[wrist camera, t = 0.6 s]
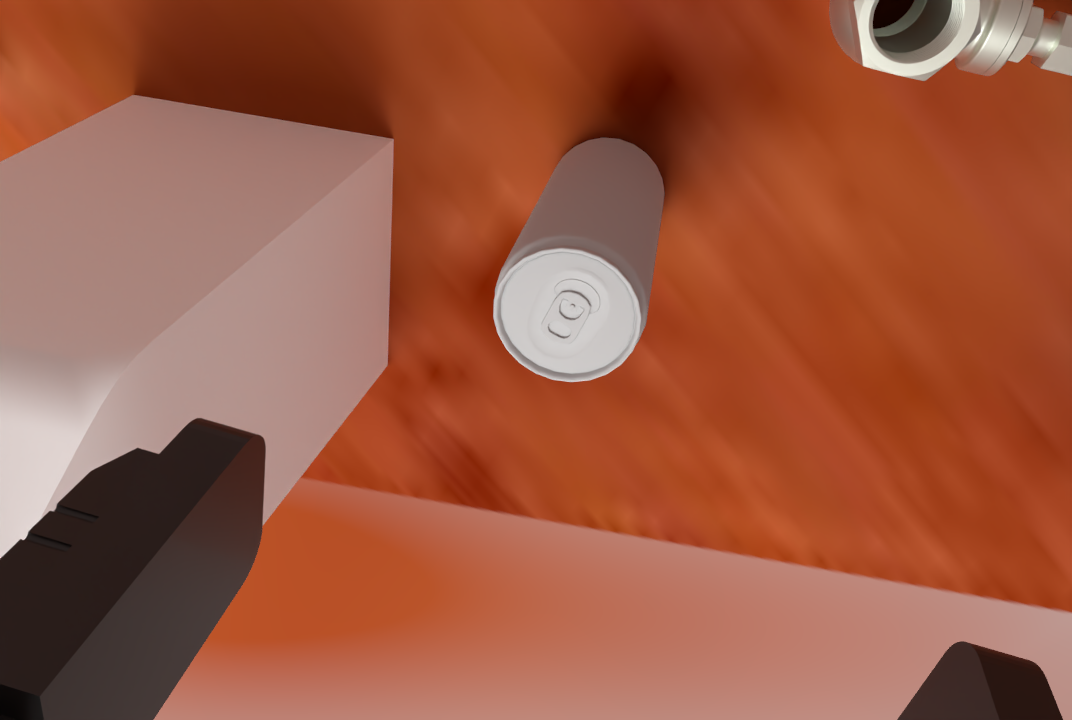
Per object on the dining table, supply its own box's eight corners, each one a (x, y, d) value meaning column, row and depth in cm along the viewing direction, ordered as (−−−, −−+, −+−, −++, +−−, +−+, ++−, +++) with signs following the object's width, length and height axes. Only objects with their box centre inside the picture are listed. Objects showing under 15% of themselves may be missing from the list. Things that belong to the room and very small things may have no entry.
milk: (393, 139, 36) (-102, 556, 14) (387, 365, 42) (30, 908, 20) (133, 94, 38) (-701, 417, 15) (163, 321, 43) (-409, 789, 21)
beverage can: (687, 167, 35) (676, 291, 24) (630, 262, 37) (600, 410, 27) (582, 112, 34) (527, 214, 24) (533, 211, 37) (464, 342, 27)
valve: (790, 69, 32) (1104, 146, 32) (807, 111, 27) (1189, 206, 26) (858, -126, 29) (1212, -44, 28) (894, -126, 23) (1336, -23, 23)
